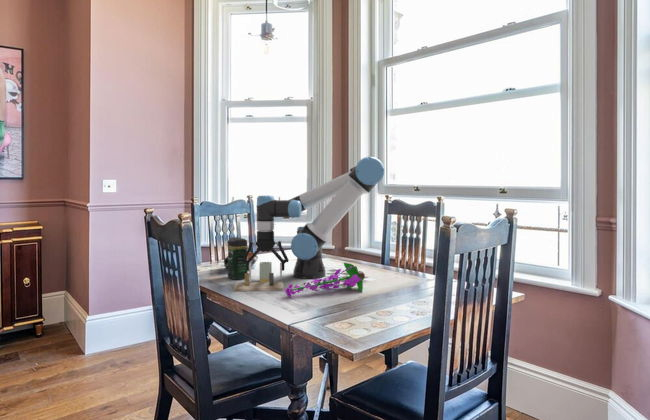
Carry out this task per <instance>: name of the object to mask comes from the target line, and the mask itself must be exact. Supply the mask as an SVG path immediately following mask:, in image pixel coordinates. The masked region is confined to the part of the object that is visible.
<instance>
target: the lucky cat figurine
mask: <svg viewBox="0 0 650 420" xmlns="http://www.w3.org/2000/svg"><path fill="white" fill-rule="evenodd" d="M247 250H248V248H247ZM253 253H254V252H251V251H250V253H249V255H248V257H247V260H248V259H249V258H250V257H251V256H252V255H253ZM258 259H259V256H258V255H256V256H255V257H254V258H253V259H252V260H251V262H250V263H251V269H252V268H253V266H254V265H255V263H256V262H257V261H258ZM223 264H224V268H225V269H226V270H228V255H227V256H226V257H225V259H224V261H223Z"/></svg>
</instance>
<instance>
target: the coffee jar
mask: <svg viewBox="0 0 650 420" xmlns="http://www.w3.org/2000/svg"><path fill="white" fill-rule="evenodd" d="M248 248H249V246H248V240H247V239H246V238H242V237H237V236H236V237H230V238H228V240H227V256H228V269H227V277H228V278H229V279H232V280H245V273H249V271H247V270H246V263H243V262H242V260H243V258H244V256H245V254H246V252H247V249H248ZM246 260H247V259H246Z"/></svg>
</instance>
